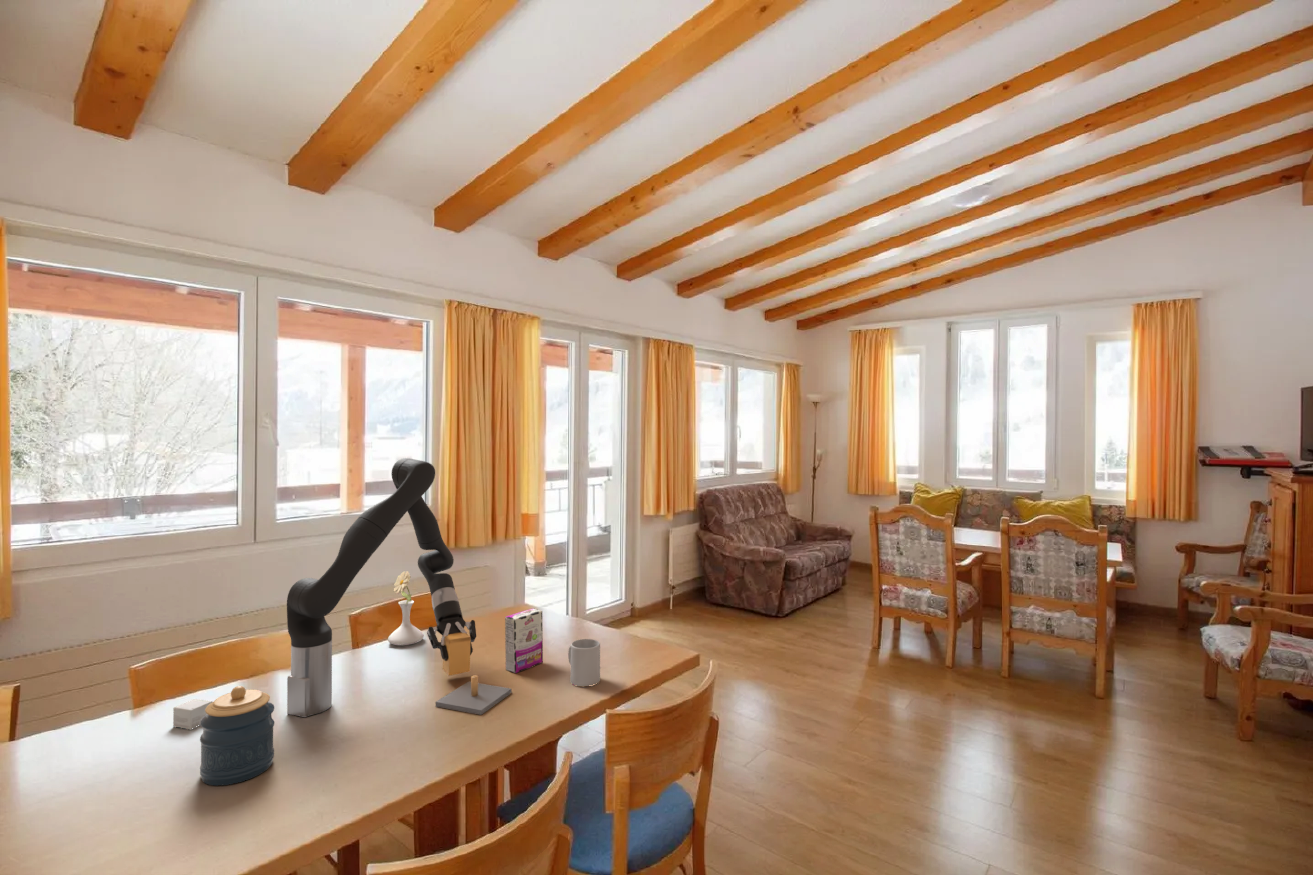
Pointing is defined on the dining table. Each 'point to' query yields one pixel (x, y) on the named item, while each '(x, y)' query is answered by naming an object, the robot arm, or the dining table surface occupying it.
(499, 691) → the peg plate
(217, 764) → the canister
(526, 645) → the candy bar box
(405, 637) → the flower in vase
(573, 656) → the mug
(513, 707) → the dining table surface
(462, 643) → the upright tan block
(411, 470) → the robot arm
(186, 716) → the small box
